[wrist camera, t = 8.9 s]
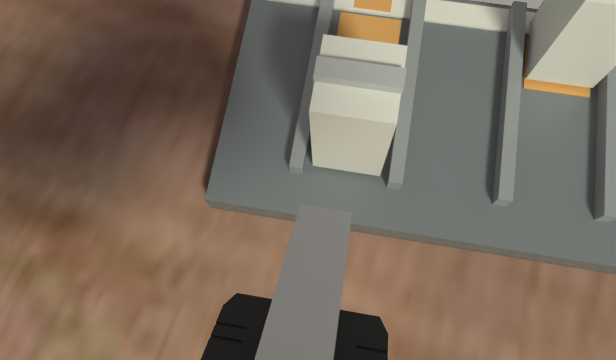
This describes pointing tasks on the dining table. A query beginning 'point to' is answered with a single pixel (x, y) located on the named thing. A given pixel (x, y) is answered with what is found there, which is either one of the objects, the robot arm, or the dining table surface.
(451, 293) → the dining table surface
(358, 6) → the switch bank
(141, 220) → the dining table surface
